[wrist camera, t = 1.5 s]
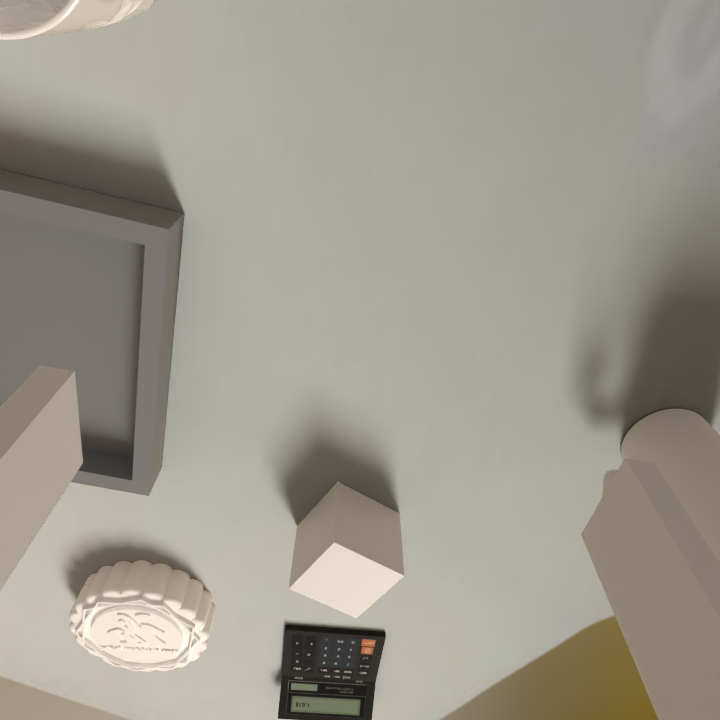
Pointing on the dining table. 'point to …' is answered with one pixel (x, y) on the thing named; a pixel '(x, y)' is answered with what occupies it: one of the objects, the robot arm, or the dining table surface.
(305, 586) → the white cube
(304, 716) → the calculator
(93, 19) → the white cup
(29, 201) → the tray
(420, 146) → the dining table surface
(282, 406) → the dining table surface
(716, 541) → the mug
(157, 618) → the mooncake
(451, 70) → the dining table surface
